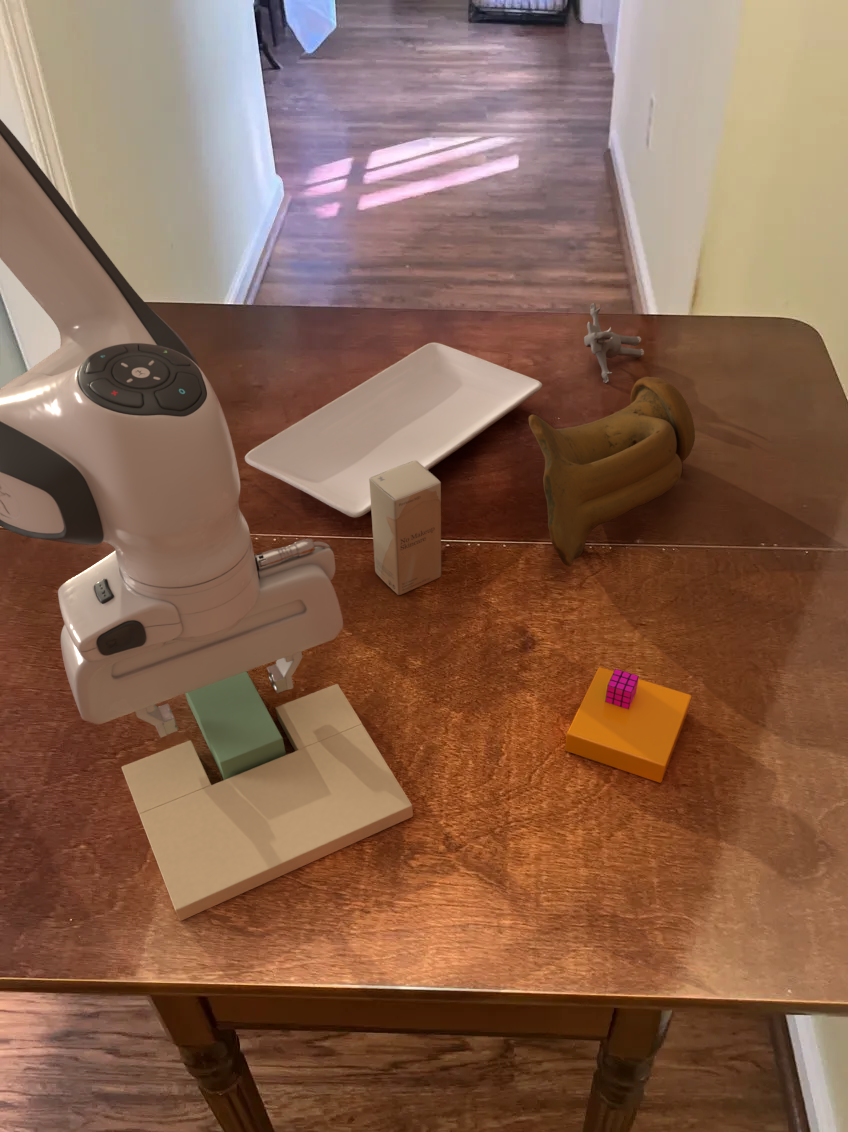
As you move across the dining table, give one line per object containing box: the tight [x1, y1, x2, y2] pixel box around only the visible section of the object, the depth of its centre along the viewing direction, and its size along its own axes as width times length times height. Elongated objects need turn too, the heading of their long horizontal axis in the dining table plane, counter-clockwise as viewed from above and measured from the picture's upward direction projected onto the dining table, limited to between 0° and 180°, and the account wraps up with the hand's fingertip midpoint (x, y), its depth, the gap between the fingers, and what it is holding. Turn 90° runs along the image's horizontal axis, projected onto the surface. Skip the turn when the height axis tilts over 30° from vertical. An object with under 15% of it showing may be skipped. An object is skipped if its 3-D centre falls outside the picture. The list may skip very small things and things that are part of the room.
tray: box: [244, 342, 543, 518], centre depth 108 cm, size 17×31×4 cm, turn 142°
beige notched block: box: [121, 683, 414, 922], centre depth 75 cm, size 18×14×2 cm
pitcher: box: [528, 376, 696, 567], centre depth 97 cm, size 18×13×22 cm
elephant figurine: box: [583, 302, 645, 384], centre depth 120 cm, size 10×6×9 cm
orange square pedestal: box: [564, 666, 692, 784], centre depth 79 cm, size 8×8×4 cm
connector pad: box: [184, 671, 287, 780], centre depth 79 cm, size 10×5×3 cm, turn 29°
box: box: [369, 460, 442, 596], centre depth 90 cm, size 5×4×11 cm
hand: (225, 707), depth 78 cm, fingers open, 8 cm apart
